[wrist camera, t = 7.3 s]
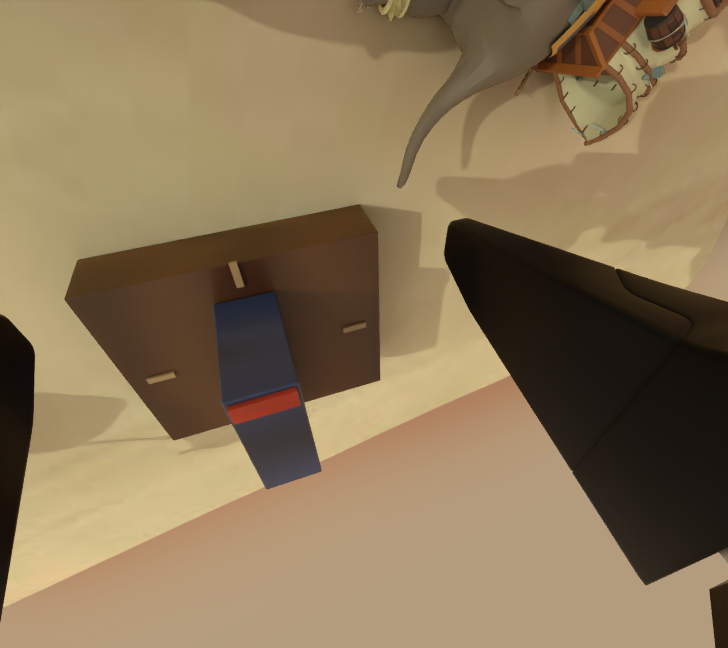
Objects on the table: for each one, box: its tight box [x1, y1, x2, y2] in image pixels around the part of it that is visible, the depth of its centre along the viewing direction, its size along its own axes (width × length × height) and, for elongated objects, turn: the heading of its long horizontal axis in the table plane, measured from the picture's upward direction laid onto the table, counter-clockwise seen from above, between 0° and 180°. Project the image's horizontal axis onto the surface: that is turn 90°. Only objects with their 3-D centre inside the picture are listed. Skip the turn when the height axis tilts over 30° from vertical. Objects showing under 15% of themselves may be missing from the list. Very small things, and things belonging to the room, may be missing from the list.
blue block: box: [214, 291, 321, 489], centre depth 20 cm, size 8×3×6 cm, turn 4°
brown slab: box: [65, 205, 380, 440], centre depth 23 cm, size 14×12×3 cm
